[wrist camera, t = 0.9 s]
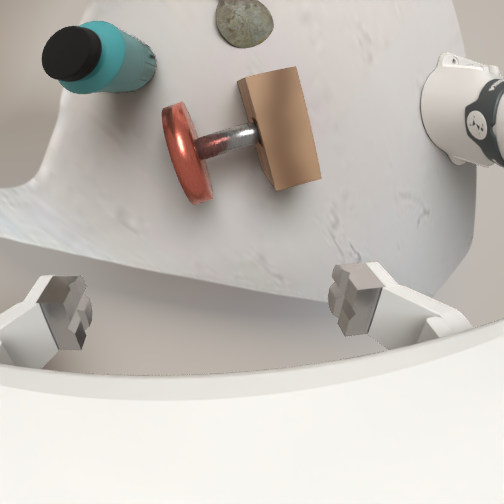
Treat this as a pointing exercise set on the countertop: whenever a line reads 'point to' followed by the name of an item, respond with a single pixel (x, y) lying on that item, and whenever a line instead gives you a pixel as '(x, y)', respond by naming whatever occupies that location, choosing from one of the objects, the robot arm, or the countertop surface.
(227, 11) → the soupspoon
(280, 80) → the eye block
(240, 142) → the copper wheel on rod
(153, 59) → the beverage bottle
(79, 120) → the countertop surface
